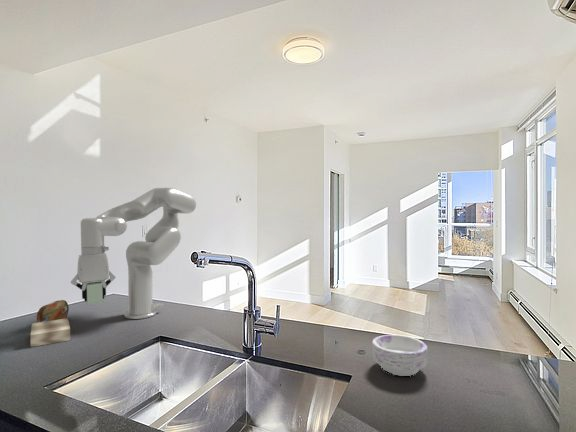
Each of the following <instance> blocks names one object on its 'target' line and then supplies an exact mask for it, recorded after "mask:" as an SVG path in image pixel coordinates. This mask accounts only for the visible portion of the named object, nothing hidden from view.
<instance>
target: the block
mask: <svg viewBox="0 0 576 432" xmlns="http://www.w3.org/2000/svg"><path fill="white" fill-rule="evenodd" d="M86 290H87V301H85V303H86V304H87V305H92V304H99V303H103V302H104V301H103V300H104V299H103V292H102V282H101V281H95V282H87V285H86Z"/></svg>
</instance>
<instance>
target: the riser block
mask: <svg viewBox="0 0 576 432" xmlns="http://www.w3.org/2000/svg"><path fill="white" fill-rule="evenodd" d="M68 341H71V326H70V321H69V318H67V317H66V318H65V319H59V320H52V321H45V322H38V323H37V322H33V323H31V327H30V348H34V347H40V346H45V345H51V344H58V343H61V342H68Z"/></svg>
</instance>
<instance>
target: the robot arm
mask: <svg viewBox="0 0 576 432" xmlns="http://www.w3.org/2000/svg"><path fill="white" fill-rule="evenodd" d="M196 207H197V201H196V199H195V198H194V197H193V196H192V195H190V194H187V193H186V192H183V191H181V190H178V189H175V188H172V187H156V188H152V189H150V190H148V191H147V192H145V193H143V194H142V195H140V196H138V197H136V198H135V199H133V200H131V201H128V202H125V203H123V204H121V205H118V206H115V207H112V208H110V209H108V210H106V211H104V212H103V213H101V214H98V215H97V216H96V217H89V218H88V217H87V218H82V219H81V220H80V250H81V254H80V255H78V260H77V273H76V274H75V275H74V277H73V278H72V279H71V280H70V283H71V285H74V287H77V288H78V289H80V290H81V299H82V300H84V302H86V301H87V290H86V285H87V283H88V282H97V281H101V282H102V292H103V300H104V299H105V296H107V289H106V288H108V286H109V285H110V284H111V283H112V282H113V281H114V280H115V279H116V276H115V275H114V274H113V273H112V272H111V271H110V269H109V267H110V266H109V260H108V256H107V253H106V251H109V249H110V248H109V246H105V237H118V236H121V235H123V234H124V233H125V232H126V231H127V229H128V224H127V222H131V221H132V222H133V221H138V220H141V219H144V218H146V217H147V216H149V215H151V214H152V213H153V212H155V211H157V210H158V209H160V208H162V210H163V213H162V216H161V219H160V220H158V222H156V223H155V224H154V225H153V226H152V227H150V229H149V230H148V231H147V233H146V235H145V236H144V237H145V241H142V240H139V241H132V242H131V243H130V244H129V245H128V246H127V247H126V250H125V258H126V263H127V268H128V269H127V271H128V279H127V280H128V282H127V283H128V284H127V285H128V288H127V289H128V290H127V292H128V295H127V296H128V297H127V299H128V300H127V303H128V306H127V307H128V308H127V310H126V312H124V314H123V315H124V318H126V319H129V320H140V319H147V318H151V317H153V316H155V315H156V314H157V310H158V309H164V307H165V304H164V303H159V302H157V303H154V302H153V278H154V277H153V270H152V266H158V265H161V264H162V263H163V262H164V261H166V259H167V258H168V257H169V256H171V255H172V253H173V252H174V251H175V250H176V249H177V248H178V246H179V244H180V242H181V239H182V237H181V232H180V230H179V229H178V228H179V226H180V225H179V224H180V222H179V221H180V220H179V214H191V213H193V212H194V211H195V210H196Z"/></svg>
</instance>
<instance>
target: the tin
mask: <svg viewBox="0 0 576 432" xmlns="http://www.w3.org/2000/svg"><path fill="white" fill-rule="evenodd" d="M68 314H69V304H68V302H67V301H66V300H64V299H61V300H56V301H53V302H50V303H48V304H45V305H43V306H41V307H40V308H39V309H38V311H37V314H36V323H38V322H45V321H52V320H59V319H65V318H67V317H68Z"/></svg>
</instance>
